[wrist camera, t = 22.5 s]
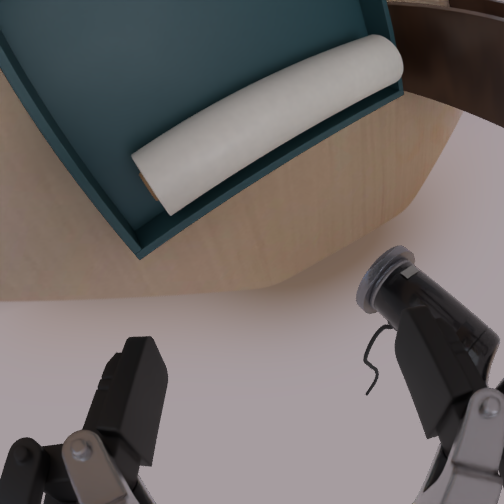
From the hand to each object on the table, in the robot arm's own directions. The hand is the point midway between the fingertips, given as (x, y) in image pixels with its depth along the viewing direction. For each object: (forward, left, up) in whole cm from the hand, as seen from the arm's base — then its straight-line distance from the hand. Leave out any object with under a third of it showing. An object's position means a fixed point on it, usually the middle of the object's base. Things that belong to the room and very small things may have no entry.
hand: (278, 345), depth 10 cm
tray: (+8, -9, -15) cm, 19 cm away
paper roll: (+1, -9, -15) cm, 18 cm away
